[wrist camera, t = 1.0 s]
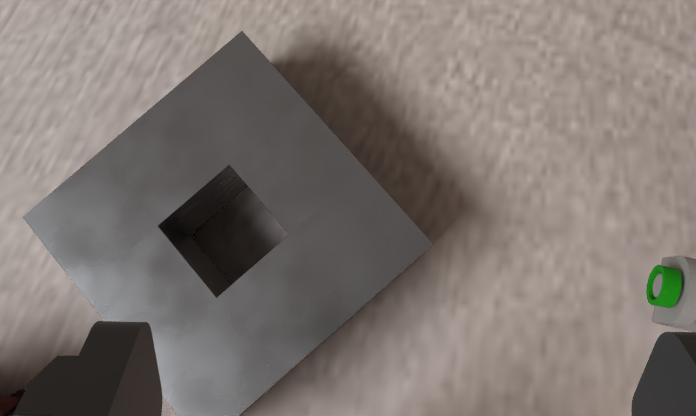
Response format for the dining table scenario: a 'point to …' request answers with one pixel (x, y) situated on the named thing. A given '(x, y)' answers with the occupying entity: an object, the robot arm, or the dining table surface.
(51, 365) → the robot arm
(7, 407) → the mate gourd
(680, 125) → the dining table surface
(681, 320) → the mechanical component
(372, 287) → the grey square hole block
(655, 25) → the dining table surface
